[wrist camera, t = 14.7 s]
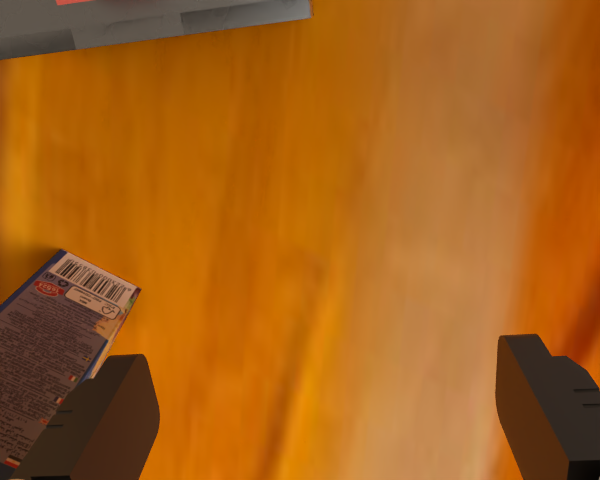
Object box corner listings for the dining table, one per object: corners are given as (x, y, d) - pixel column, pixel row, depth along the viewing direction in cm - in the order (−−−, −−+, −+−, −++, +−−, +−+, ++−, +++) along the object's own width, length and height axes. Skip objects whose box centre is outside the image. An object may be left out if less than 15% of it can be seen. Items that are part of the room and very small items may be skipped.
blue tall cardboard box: (61, 247, 46) (-180, 471, 23) (142, 287, 47) (-16, 535, 25) (17, 348, 50) (-223, 616, 28) (92, 382, 51) (-81, 665, 29)
